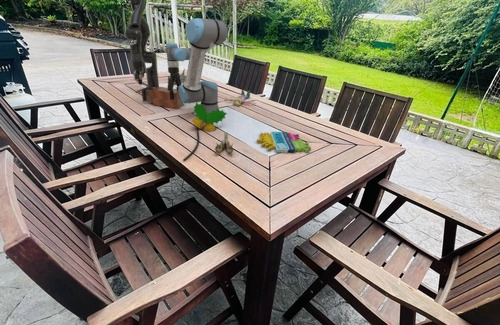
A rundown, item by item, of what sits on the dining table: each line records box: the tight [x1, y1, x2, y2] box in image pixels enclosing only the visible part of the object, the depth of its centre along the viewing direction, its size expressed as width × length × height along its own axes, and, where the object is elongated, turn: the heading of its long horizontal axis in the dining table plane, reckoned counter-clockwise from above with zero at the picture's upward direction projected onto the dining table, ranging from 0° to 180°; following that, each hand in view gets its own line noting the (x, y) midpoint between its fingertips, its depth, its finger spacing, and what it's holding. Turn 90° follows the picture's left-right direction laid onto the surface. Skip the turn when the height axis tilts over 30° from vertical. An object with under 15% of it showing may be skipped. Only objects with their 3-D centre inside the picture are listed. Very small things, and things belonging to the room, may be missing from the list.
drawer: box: [135, 86, 154, 103], centre depth 199 cm, size 24×9×10 cm, turn 78°
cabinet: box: [152, 86, 185, 110], centre depth 197 cm, size 20×11×12 cm, turn 78°
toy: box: [223, 89, 257, 106], centre depth 219 cm, size 28×7×30 cm
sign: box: [256, 131, 312, 154], centre depth 152 cm, size 26×2×30 cm
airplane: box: [165, 68, 187, 85], centre depth 265 cm, size 38×32×10 cm
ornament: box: [191, 102, 228, 132], centre depth 162 cm, size 21×8×15 cm, turn 105°
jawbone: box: [214, 131, 234, 156], centre depth 136 cm, size 9×15×10 cm
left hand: (140, 84), depth 196 cm, fingers closed
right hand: (175, 97), depth 196 cm, fingers closed on cabinet, 11 cm apart
